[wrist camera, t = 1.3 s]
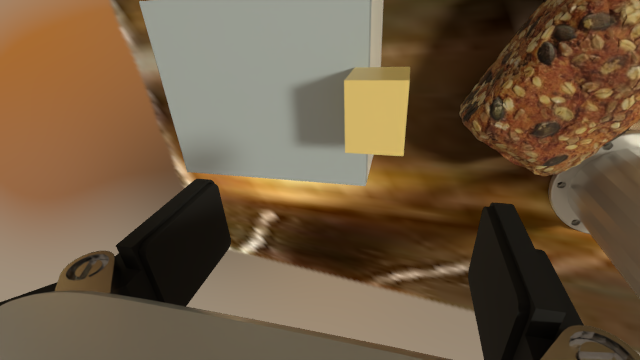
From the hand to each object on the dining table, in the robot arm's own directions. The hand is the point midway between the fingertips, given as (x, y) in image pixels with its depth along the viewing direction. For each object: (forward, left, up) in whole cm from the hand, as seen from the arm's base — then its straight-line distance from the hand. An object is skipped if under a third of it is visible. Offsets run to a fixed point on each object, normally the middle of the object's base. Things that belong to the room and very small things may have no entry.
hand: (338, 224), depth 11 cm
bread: (-16, -2, -28) cm, 33 cm away
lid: (+9, 0, -18) cm, 20 cm away
